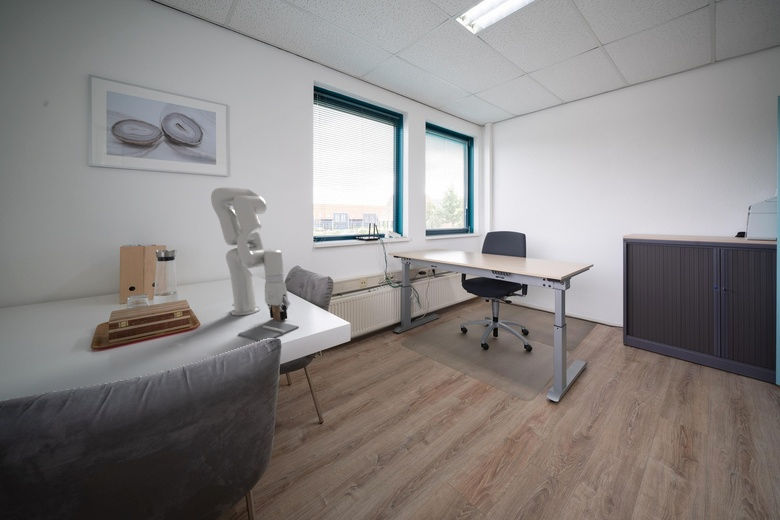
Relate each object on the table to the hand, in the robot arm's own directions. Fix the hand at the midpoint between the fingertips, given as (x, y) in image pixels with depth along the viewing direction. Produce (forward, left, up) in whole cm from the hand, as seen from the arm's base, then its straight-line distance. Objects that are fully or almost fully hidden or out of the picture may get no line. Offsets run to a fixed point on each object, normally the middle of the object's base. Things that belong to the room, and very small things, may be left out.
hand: (278, 317), depth 130 cm
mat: (+8, -11, -1) cm, 14 cm away
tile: (0, 0, -1) cm, 1 cm away
